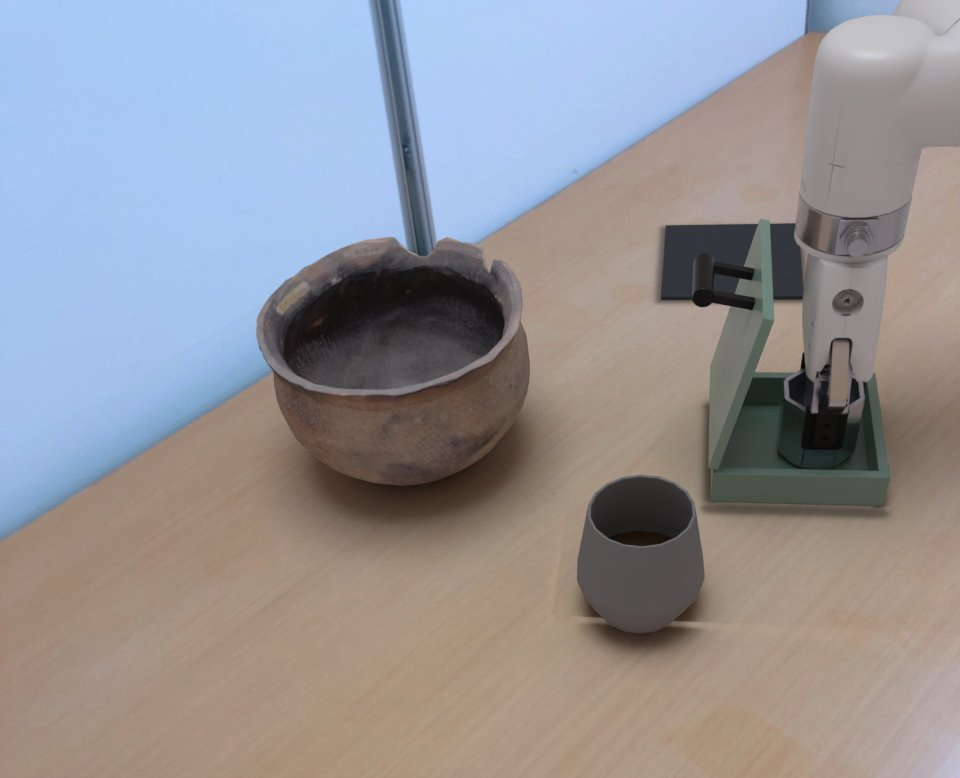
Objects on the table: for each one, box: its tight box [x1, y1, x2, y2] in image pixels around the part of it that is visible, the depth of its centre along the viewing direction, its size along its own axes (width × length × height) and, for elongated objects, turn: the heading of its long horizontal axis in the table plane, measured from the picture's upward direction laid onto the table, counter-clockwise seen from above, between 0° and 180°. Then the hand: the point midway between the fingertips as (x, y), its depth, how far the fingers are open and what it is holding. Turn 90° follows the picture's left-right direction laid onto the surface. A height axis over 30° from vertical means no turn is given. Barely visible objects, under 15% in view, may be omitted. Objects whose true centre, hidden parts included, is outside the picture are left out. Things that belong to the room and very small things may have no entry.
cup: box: [576, 474, 706, 635], centre depth 81 cm, size 10×9×10 cm
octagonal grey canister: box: [777, 366, 865, 470], centre depth 91 cm, size 6×6×6 cm
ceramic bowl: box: [255, 236, 531, 486], centre depth 94 cm, size 22×22×15 cm
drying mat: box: [660, 222, 804, 301], centre depth 114 cm, size 14×14×1 cm
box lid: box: [691, 218, 775, 470], centre depth 87 cm, size 14×14×5 cm
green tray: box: [709, 371, 891, 507], centre depth 93 cm, size 14×14×4 cm
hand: (819, 418), depth 91 cm, fingers closed on octagonal grey canister, 6 cm apart
